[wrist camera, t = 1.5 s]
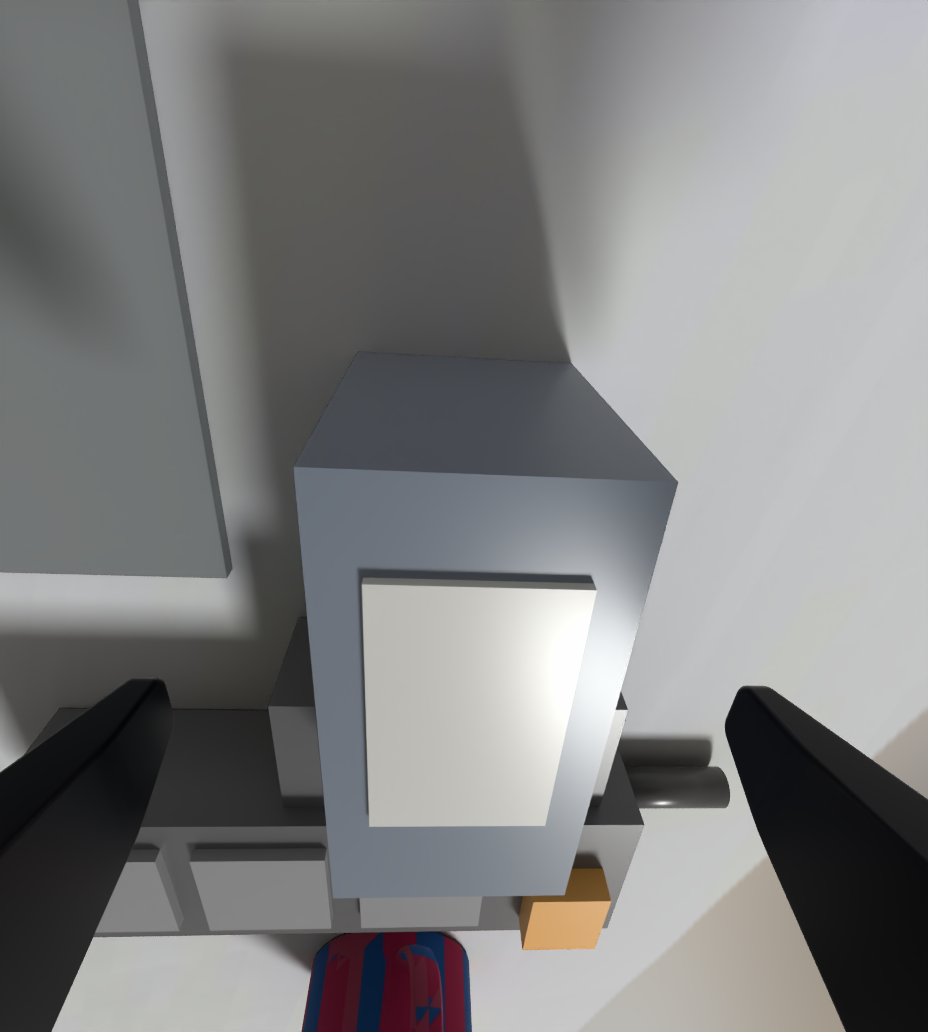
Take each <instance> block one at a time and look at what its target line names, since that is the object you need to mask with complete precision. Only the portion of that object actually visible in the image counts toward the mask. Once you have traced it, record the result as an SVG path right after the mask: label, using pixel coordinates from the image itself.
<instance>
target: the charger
mask: <svg viewBox="0 0 928 1032" xmlns="http://www.w3.org/2000/svg"><path fill="white" fill-rule="evenodd" d="M293 469H294V480H295V491H296V502H297V513H298V524H299V534H300V545H301V556H302V567H303V578H304V588H305V599H306V610H307V621H308V632H309V643H310V653H311V664H312V675H313V686H314V697H315V708H316V718H317V729H318V740H319V751H320V762H321V773H322V783H323V794H324V805H325V816H326V827H327V838H328V848H329V859H330V870H331V881H332V892H333V898H401V897H473V896H546V895H565V891H566V888H567V884H568V880H569V877H570V873H571V869H572V866H573V862H574V859H575V855H576V851H577V848H578V844H579V840H580V837H581V833H582V830H583V826H584V822H585V819H586V815H587V811H588V808H589V804H590V801H591V797H592V793H593V790H594V786H595V782H596V779H597V775H598V771H599V768H600V764H601V761H602V757H603V753H604V750H605V746H606V742H607V739H608V735H609V732H610V728H611V724H612V721H613V717H614V713H615V710H616V706H617V703H618V699H619V695H620V692H621V688H622V684H623V681H624V677H625V673H626V670H627V666H628V663H629V659H630V655H631V652H632V648H633V644H634V641H635V637H636V634H637V630H638V626H639V623H640V619H641V615H642V612H643V608H644V604H645V601H646V597H647V594H648V590H649V586H650V583H651V579H652V575H653V572H654V568H655V565H656V561H657V557H658V554H659V550H660V546H661V543H662V539H663V536H664V532H665V528H666V525H667V521H668V517H669V514H670V510H671V506H672V503H673V499H674V496H675V492H676V488H677V485H678V481H677V480H676V479H675V478H674V477H673V476H672V475H671V474H670V473H669V471H668V470H667V469H666V468H665V467H664V466H663V465H662V464H661V463H660V461H659V460H658V459H657V458H656V457H655V456H654V455H653V454H652V452H651V451H650V450H649V449H648V448H647V447H646V446H645V445H644V444H643V442H642V441H641V440H640V439H639V438H638V437H637V436H636V435H635V434H634V432H633V431H632V430H631V429H630V428H629V427H628V426H627V425H626V423H625V422H624V421H623V420H622V419H621V418H620V417H619V416H618V415H617V413H616V412H615V411H614V410H613V409H612V408H611V407H610V406H609V405H608V403H607V402H606V401H605V400H604V399H603V398H602V397H601V396H600V395H599V393H598V392H597V391H596V390H595V389H594V388H593V387H592V386H591V384H590V383H589V382H588V381H587V380H586V379H585V378H584V377H583V376H582V374H581V373H580V372H579V371H578V370H577V369H576V368H575V367H574V366H573V364H572V363H554V362H536V361H517V360H499V359H480V358H462V357H444V356H425V355H407V354H389V353H370V352H357V354H356V356H355V358H354V359H353V361H352V363H351V365H350V367H349V368H348V370H347V372H346V374H345V376H344V377H343V379H342V381H341V383H340V384H339V386H338V388H337V390H336V392H335V393H334V395H333V397H332V399H331V401H330V402H329V404H328V406H327V408H326V409H325V411H324V413H323V415H322V417H321V418H320V420H319V422H318V424H317V426H316V427H315V429H314V431H313V433H312V434H311V436H310V438H309V440H308V442H307V443H306V445H305V447H304V449H303V451H302V452H301V454H300V456H299V458H298V459H297V461H296V463H295V465H294V467H293Z"/></svg>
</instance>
